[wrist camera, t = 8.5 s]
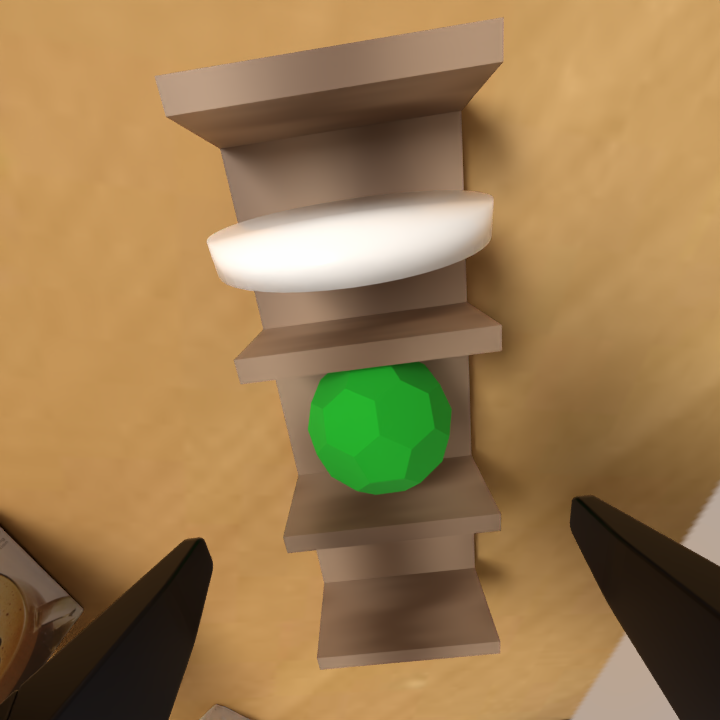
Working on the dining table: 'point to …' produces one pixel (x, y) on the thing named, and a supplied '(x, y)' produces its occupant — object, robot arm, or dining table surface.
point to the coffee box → (28, 616)
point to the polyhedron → (380, 426)
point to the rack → (365, 318)
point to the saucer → (353, 241)
